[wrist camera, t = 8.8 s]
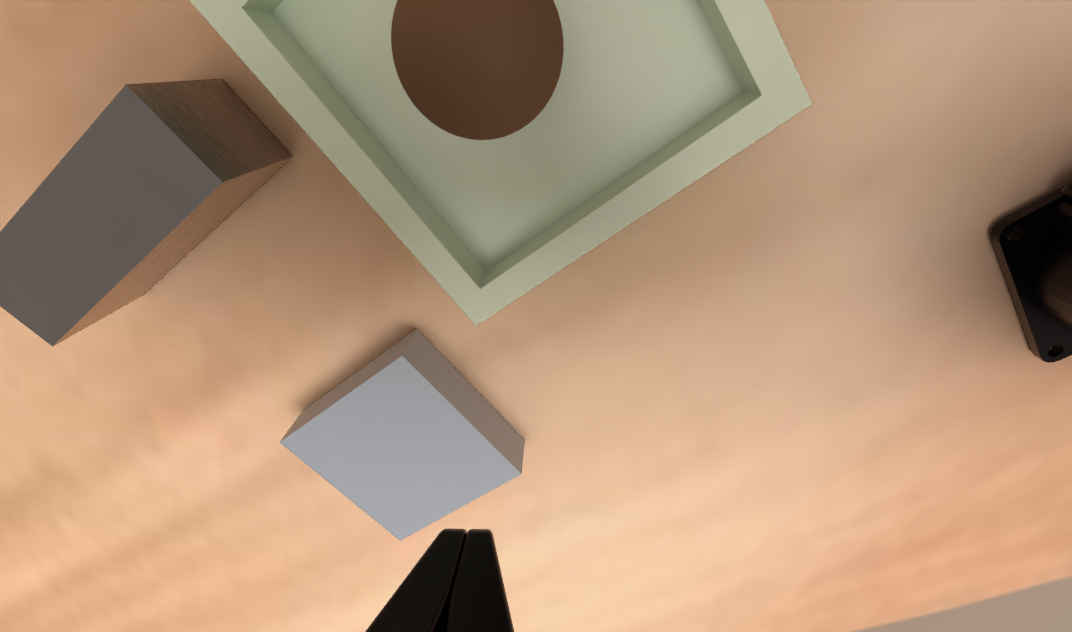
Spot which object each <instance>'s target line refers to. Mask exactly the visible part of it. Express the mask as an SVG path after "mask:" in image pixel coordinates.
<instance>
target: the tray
mask: <svg viewBox="0 0 1072 632" xmlns="http://www.w3.org/2000/svg"><path fill="white" fill-rule="evenodd" d="M189 1H190V2H191V3H192V4H193V5H194V6H195V7H196V9H197V10H198V11H199V12H200V13H201V14H202V15H203V16H204V18H205V19H206V20H207V21H208V22H209V23H210V24H211V26H212V27H213V28H214V29H215V30H216V31H217V32H218V34H219V35H220V36H221V37H222V38H223V39H224V40H225V41H226V43H227V44H228V45H229V46H230V47H231V48H232V49H233V51H234V52H235V53H236V54H237V55H238V56H239V57H240V59H241V60H242V61H243V62H244V63H245V64H246V65H247V66H248V68H249V69H250V70H251V71H252V72H253V73H254V74H255V76H256V77H257V78H258V79H259V80H260V81H261V82H262V84H263V85H264V86H265V87H266V88H267V89H268V90H269V91H270V93H271V94H272V95H273V96H274V97H275V98H276V99H277V101H278V102H279V103H280V104H281V105H282V106H283V107H284V108H285V110H286V111H287V112H288V113H289V114H290V115H291V116H292V118H293V119H294V120H295V121H296V122H297V123H298V124H299V126H300V127H301V128H302V129H303V130H304V131H305V132H306V133H307V135H308V136H309V137H310V138H311V139H312V140H313V141H314V143H315V144H316V145H317V146H318V147H319V148H320V149H321V151H322V152H323V153H324V154H325V155H326V156H327V157H328V158H329V160H330V161H331V162H332V163H333V164H334V165H335V166H336V168H337V169H338V170H339V171H340V172H341V173H342V174H343V176H344V177H345V178H346V179H347V180H348V181H349V182H350V183H351V185H352V186H353V187H354V188H355V189H356V190H357V191H358V193H359V194H360V195H361V196H362V197H363V198H364V199H365V201H366V202H367V203H368V204H369V205H370V206H371V207H372V208H373V210H374V211H375V212H376V213H377V214H378V215H379V216H380V218H381V219H382V220H383V221H384V222H385V223H386V224H387V226H388V227H389V228H390V229H391V230H392V231H393V232H394V233H395V235H396V236H397V237H398V238H399V239H400V240H401V241H402V243H403V244H404V245H405V246H406V247H407V248H408V249H409V251H410V252H411V253H412V254H413V255H414V256H415V257H416V258H417V260H418V261H419V262H420V263H421V264H422V265H423V266H424V268H425V269H426V270H427V271H428V272H429V273H430V274H431V275H432V277H433V278H434V279H435V280H436V281H437V282H438V283H439V285H440V286H441V287H442V288H443V289H444V290H445V291H446V293H447V294H448V295H449V296H450V297H451V298H452V299H453V300H454V302H455V303H456V304H457V305H458V306H459V307H460V308H461V310H462V311H463V312H464V313H465V314H466V315H467V316H468V318H469V319H470V320H471V321H472V322H473V323H474V324H475V325H476V326H477V325H478V324H480V323H482V322H483V321H485V320H486V319H488V318H489V317H491V316H492V315H494V314H495V313H497V312H498V311H500V310H501V309H503V308H504V307H506V306H507V305H509V304H510V303H512V302H513V301H515V300H516V299H518V298H519V297H521V296H522V295H524V294H525V293H527V292H528V291H530V290H531V289H533V288H534V287H536V286H538V285H539V284H541V283H542V282H544V281H545V280H547V279H548V278H550V277H551V276H553V275H554V274H556V273H557V272H559V271H560V270H562V269H563V268H565V267H566V266H568V265H569V264H571V263H572V262H574V261H575V260H577V259H578V258H580V257H581V256H583V255H584V254H586V253H587V252H589V251H590V250H592V249H593V248H595V247H597V246H598V245H600V244H601V243H603V242H604V241H606V240H607V239H609V238H610V237H612V236H613V235H615V234H616V233H618V232H619V231H621V230H622V229H624V228H625V227H627V226H628V225H630V224H631V223H633V222H634V221H636V220H637V219H639V218H640V217H642V216H643V215H645V214H646V213H648V212H649V211H651V210H653V209H654V208H656V207H657V206H659V205H660V204H662V203H663V202H665V201H666V200H668V199H669V198H671V197H672V196H674V195H675V194H677V193H678V192H680V191H681V190H683V189H684V188H686V187H687V186H689V185H690V184H692V183H693V182H695V181H696V180H698V179H699V178H701V177H702V176H704V175H705V174H707V173H708V172H710V171H712V170H713V169H715V168H716V167H718V166H719V165H721V164H722V163H724V162H725V161H727V160H728V159H730V158H731V157H733V156H734V155H736V154H737V153H739V152H740V151H742V150H743V149H745V148H746V147H748V146H749V145H751V144H752V143H754V142H755V141H757V140H758V139H760V138H761V137H763V136H764V135H766V134H768V133H769V132H771V131H772V130H774V129H775V128H777V127H778V126H780V125H781V124H783V123H784V122H786V121H787V120H789V119H790V118H792V117H793V116H795V115H796V114H798V113H799V112H801V111H802V110H804V109H805V108H807V107H808V106H810V105H811V104H812V101H811V99H810V97H809V95H808V93H807V91H806V89H805V86H804V84H803V82H802V80H801V78H800V76H799V74H798V71H797V69H796V67H795V65H794V63H793V61H792V58H791V56H790V54H789V52H788V50H787V48H786V46H785V43H784V41H783V39H782V37H781V35H780V33H779V31H778V28H777V26H776V24H775V22H774V20H773V18H772V15H771V13H770V11H769V9H768V7H767V5H766V3H765V0H554V3H555V5H556V8H557V10H558V13H559V17H560V21H561V25H562V32H563V47H564V52H563V63H562V68H561V73H560V77H559V80H558V83H557V85H556V88H555V90H554V92H553V94H552V96H551V98H550V100H549V101H548V103H547V104H546V106H545V108H544V109H543V110H542V111H541V112H540V113H539V115H538V116H537V117H536V118H535V119H534V120H532V121H531V122H530V123H529V124H528V125H526V126H525V127H523V128H522V129H520V130H519V131H517V132H515V133H513V134H511V135H508V136H505V137H502V138H497V139H492V140H472V139H466V138H462V137H458V136H456V135H453V134H450V133H448V132H446V131H444V130H442V129H441V128H439V127H437V126H436V125H435V124H433V123H432V122H430V121H429V120H428V119H427V118H426V117H425V116H424V115H423V114H422V113H421V112H420V111H419V110H418V109H417V108H416V107H415V105H414V104H413V103H412V101H411V100H410V98H409V97H408V95H407V94H406V92H405V90H404V88H403V86H402V84H401V82H400V79H399V77H398V74H397V72H396V68H395V64H394V61H393V54H392V48H391V27H392V19H393V14H394V9H395V6H396V3H397V0H189Z"/></svg>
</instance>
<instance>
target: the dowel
mask: <svg viewBox="0 0 1072 632" xmlns="http://www.w3.org/2000/svg"><path fill="white" fill-rule="evenodd" d="M391 48H392V54H393V61H394V64H395V68H396V72H397V74H398V77H399V79H400V82H401V84H402V86H403V88H404V90H405V92H406V94H407V95H408V97H409V98H410V100H411V101H412V103H413V104H414V105H415V107H416V108H417V109H418V110H419V111H420V112H421V113H422V114H423V115H424V116H425V117H426V118H427V119H428V120H429V121H430V122H432V123H433V124H435V125H436V126H437V127H439V128H441V129H442V130H444V131H446V132H448V133H450V134H453V135H456V136H458V137H462V138H466V139H472V140H492V139H497V138H502V137H505V136H508V135H511V134H513V133H515V132H517V131H519V130H520V129H522V128H523V127H525V126H526V125H528V124H529V123H530V122H531V121H532V120H534V119H535V118H536V117H537V116H538V115H539V113H540V112H541V111H542V110H543V109H544V108H545V106H546V104H547V103H548V101H549V100H550V98H551V96H552V94H553V92H554V90H555V88H556V85H557V83H558V80H559V77H560V73H561V68H562V63H563V52H564V47H563V32H562V25H561V21H560V17H559V13H558V10H557V8H556V5H555V3H554V0H397V3H396V6H395V9H394V14H393V19H392V27H391Z"/></svg>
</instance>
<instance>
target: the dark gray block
mask: <svg viewBox="0 0 1072 632" xmlns="http://www.w3.org/2000/svg"><path fill="white" fill-rule="evenodd" d="M291 158H292V156H291V155H290V153H289V152H288V151H287V150H286V149H285V148H284V147H283V146H282V145H281V144H280V142H279V141H278V140H277V139H276V138H275V137H274V136H273V135H272V134H271V133H270V131H269V130H268V129H267V128H266V127H265V126H264V125H263V124H262V123H261V122H260V120H259V119H258V118H257V117H256V116H255V115H254V114H253V113H252V112H251V111H250V109H249V108H248V107H247V106H246V105H245V104H244V103H243V102H242V101H241V100H240V98H239V97H238V96H237V95H236V94H235V93H234V92H233V91H232V90H231V89H230V87H229V86H228V85H227V84H226V83H225V82H224V81H223V80H222V79H210V80H194V81H177V82H160V83H143V84H126V85H125V86H124V88H123V89H122V90H121V91H120V92H119V93H118V95H117V96H116V97H115V98H114V99H113V100H112V102H111V103H110V104H109V105H108V106H107V108H106V109H105V110H104V111H103V112H102V113H101V115H100V116H99V117H98V118H97V119H96V120H95V122H94V123H93V124H92V125H91V126H90V127H89V129H88V130H87V131H86V132H85V133H84V134H83V136H82V137H81V138H80V139H79V140H78V141H77V143H76V144H75V145H74V146H73V147H72V149H71V150H70V151H69V152H68V153H67V154H66V156H65V157H64V158H63V159H62V160H61V161H60V163H59V164H58V165H57V166H56V167H55V168H54V170H53V171H52V172H51V173H50V174H49V175H48V177H47V178H46V179H45V180H44V181H43V182H42V184H41V185H40V186H39V187H38V188H37V190H36V191H35V192H34V193H33V194H32V195H31V197H30V198H29V199H28V200H27V201H26V202H25V204H24V205H23V206H22V207H21V208H20V209H19V211H18V212H17V213H16V214H15V215H14V216H13V218H12V219H11V220H10V221H9V222H8V223H7V225H6V226H5V227H4V228H3V229H2V231H1V232H0V306H1V307H2V308H3V309H5V310H6V311H7V312H8V313H10V314H11V315H12V316H14V317H15V318H16V319H18V320H19V321H20V322H22V323H23V324H24V325H25V326H27V327H28V328H29V329H31V330H32V331H33V332H35V333H36V334H37V335H38V336H40V337H41V338H42V339H44V340H45V341H46V342H48V343H49V344H50V345H52V346H54V345H56V344H58V343H59V342H61V341H63V340H65V339H67V338H68V337H70V336H72V335H74V334H75V333H77V332H79V331H81V330H82V329H84V328H86V327H88V326H89V325H91V324H93V323H95V322H97V321H98V320H100V319H102V318H104V317H105V316H107V315H109V314H111V313H112V312H114V311H116V310H118V309H120V308H121V307H123V306H125V305H127V304H128V303H130V302H132V301H134V300H135V299H137V298H139V297H141V296H143V295H144V294H145V293H146V292H147V291H148V290H149V289H150V288H151V287H153V286H154V285H155V284H156V283H157V282H158V281H159V280H160V279H161V278H162V277H163V276H164V275H166V274H167V273H168V272H169V271H170V270H171V269H172V268H173V267H174V266H175V265H176V264H177V263H178V262H180V261H181V260H182V259H183V258H184V257H185V256H186V255H187V254H188V253H189V252H190V251H191V250H192V249H194V248H195V247H196V246H197V245H198V244H199V243H200V242H201V241H202V240H203V239H204V238H205V237H207V236H208V235H209V234H210V233H211V232H212V231H213V230H214V229H215V228H216V227H217V226H218V225H219V224H221V223H222V222H223V221H224V220H225V219H226V218H227V217H228V216H229V215H230V214H231V213H232V212H233V211H235V210H236V209H237V208H238V207H239V206H240V205H241V204H242V203H243V202H244V201H245V200H246V199H248V198H249V197H250V196H251V195H252V194H253V193H254V192H255V191H256V190H257V189H258V188H259V187H260V186H262V185H263V184H264V183H265V182H266V181H267V180H268V179H269V178H270V177H271V176H272V175H273V174H274V173H276V172H277V171H278V170H279V169H280V168H281V167H282V166H283V165H284V164H285V163H286V162H287V161H289V160H290V159H291Z"/></svg>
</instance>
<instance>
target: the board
mask: <svg viewBox="0 0 1072 632" xmlns="http://www.w3.org/2000/svg"><path fill="white" fill-rule="evenodd" d="M524 441H525V439H524V438H523V437H522V436H521V435H520V434H519V433H518V432H517V431H516V430H515V429H514V428H513V427H512V426H511V425H510V424H509V423H508V422H507V421H506V420H505V419H504V418H503V417H502V416H501V415H500V414H499V413H498V411H497V410H496V409H495V408H494V407H493V406H492V405H491V404H490V403H489V402H488V401H487V400H486V399H485V398H484V397H483V396H482V395H481V394H480V393H479V392H478V391H477V390H476V389H475V388H474V387H473V386H472V385H471V384H470V383H469V382H468V380H467V379H466V378H465V377H464V376H463V375H462V374H461V373H460V372H459V371H458V370H457V369H456V368H455V367H454V366H453V365H452V364H451V363H450V362H449V361H448V360H447V359H446V358H445V357H444V356H443V355H442V354H441V353H440V352H439V351H438V349H437V348H436V347H435V346H434V345H433V344H432V343H431V342H430V341H429V340H428V339H427V338H426V337H425V336H424V335H423V334H422V333H421V332H420V331H419V330H418V329H415V330H414V331H412V332H411V333H410V334H408V335H407V336H405V337H404V338H403V339H401V340H400V341H399V342H397V343H396V344H394V345H393V346H392V347H390V348H389V349H387V350H386V351H385V352H383V353H382V354H380V355H379V356H378V357H376V358H375V359H374V360H372V361H371V362H369V363H368V364H367V365H365V366H364V367H362V368H361V369H360V370H358V371H357V372H355V373H354V374H353V375H351V376H350V377H349V378H347V379H346V380H344V381H343V382H342V383H340V384H339V385H337V386H336V387H335V388H333V389H332V390H330V391H329V392H328V393H326V394H325V395H324V396H322V397H321V398H319V399H318V400H317V401H315V402H314V403H312V404H311V405H310V406H308V407H307V408H306V409H304V410H303V411H302V412H301V414H300V415H299V417H298V418H297V419H296V421H295V422H294V423H293V425H292V426H291V427H290V429H289V430H288V431H287V433H286V434H285V436H284V437H283V438H282V440H281V441H280V443H281V444H282V445H283V446H285V447H286V448H287V449H288V450H290V451H291V452H292V453H293V454H295V455H296V456H297V457H298V458H299V459H301V460H302V461H303V462H304V463H306V464H307V465H308V466H309V467H310V468H312V469H313V470H314V471H315V472H317V473H318V474H319V475H320V476H321V477H323V478H324V479H325V480H326V481H328V482H329V483H330V484H331V485H333V486H334V487H335V488H336V489H337V490H339V491H340V492H341V493H342V494H344V495H345V496H346V497H347V498H348V499H350V500H351V501H352V502H353V503H355V504H356V505H357V506H358V507H360V508H361V509H362V510H363V511H364V512H366V513H367V514H368V515H369V516H371V517H372V518H373V519H374V520H375V521H377V522H378V523H379V524H380V525H382V526H383V527H384V528H385V529H386V530H388V531H389V532H390V533H391V534H393V535H394V536H395V537H396V538H398V539H399V540H402V539H404V538H406V537H408V536H409V535H411V534H413V533H415V532H417V531H418V530H420V529H422V528H424V527H426V526H428V525H429V524H431V523H433V522H435V521H437V520H439V519H440V518H442V517H444V516H446V515H448V514H449V513H451V512H453V511H455V510H457V509H459V508H460V507H462V506H464V505H466V504H468V503H469V502H471V501H473V500H475V499H477V498H479V497H480V496H482V495H484V494H486V493H488V492H489V491H491V490H493V489H495V488H497V487H499V486H500V485H502V484H504V483H506V482H508V481H509V480H511V479H513V478H515V477H517V476H519V475H520V474H521V473H522V462H523V452H524Z"/></svg>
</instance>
